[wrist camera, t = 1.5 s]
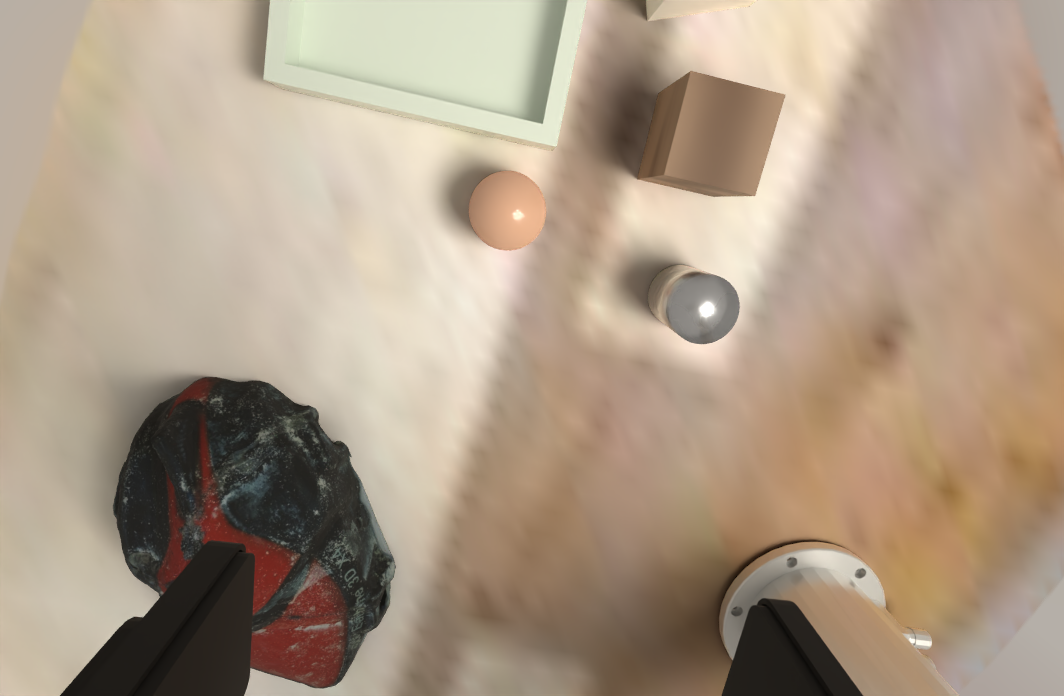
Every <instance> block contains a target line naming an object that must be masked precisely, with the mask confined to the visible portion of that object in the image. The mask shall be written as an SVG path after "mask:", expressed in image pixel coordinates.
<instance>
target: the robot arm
mask: <svg viewBox="0 0 1064 696" xmlns="http://www.w3.org/2000/svg"><path fill="white" fill-rule="evenodd" d="M254 574H255V555H254V554H253V553H246V547H245V545H244V544H243V543H234V542H224V541H215V540H210V541H208V542H207V543H206V544H205V545H204V546H203V547H202V548H201V549H200V551H199V552H198V553H197V554H196V555H195V557H194V558H193V559H192V560H191V561H190V562H189V564H188V565H187V566H186V567H185V568H184V570H183V571H182V572H181V573H180V574H179V576H178V577H177V578H176V579H175V580H174V582H173V583H172V584H171V585H170V586H169V588H168V589H167V590H166V591H165V592H164V593H163V595H162V596H161V597H160V598H159V599H158V601H157V602H156V603H155V604H154V605H153V607H152V608H151V609H150V610H149V611H148V613H147V614H146V615H145V616H144V617H143V618H142V617H133V618H131V619H129V620H127V621H126V622H125V623H124V624H123V625H122V626H121V627H120V628H119V629H118V630H117V631H116V632H115V633H114V634H113V635H112V637H111V638H110V639H109V640H108V641H107V642H106V643H105V645H104V646H103V647H102V648H101V649H100V650H99V651H98V653H97V654H96V655H95V656H94V657H93V658H92V659H91V661H90V662H89V663H88V664H87V665H86V666H85V667H84V669H83V670H82V671H81V672H80V673H79V674H78V675H77V677H76V678H75V679H74V680H73V681H72V682H71V684H70V685H69V686H68V687H67V688H66V689H65V690H64V692H63V693H62V694H61V695H60V696H244V694H245V692H246V689H247V685H248V681H249V676H250V661H251V639H252V618H253V596H254ZM885 608H886V601H885V595H884V590H883V587H882V585H881V583H880V581H879V578H878V577H877V576H876V574H875V573H874V572H873V571H872V569H871V568H870V567H869V566H868V565H867V564H866V563H865V562H864V561H863V560H862V559H861V558H860V557H859V556H857V555H855V554H854V553H852V552H851V551H849V550H847V549H845V548H842V547H840V546H837V545H834V544H829V543H823V542H801V543H795V544H790V545H786V546H783V547H780V548H777V549H775V550H772V551H770V552H768V553H766V554H765V555H763V556H761V557H759V558H757V559H756V560H755V561H754V562H752V563H751V564H750V565H748V566H747V567H746V568H745V569H744V570H743V571H742V572H741V573H740V574H739V575H738V576H737V577H736V578H735V580H734V581H733V583H732V584H731V586H730V587H729V589H728V590H727V592H726V595H725V597H724V600H723V602H722V605H721V610H720V615H719V629H720V634H721V638H722V641H723V644H724V646H725V648H726V650H727V652H728V654H729V656H730V658H731V659H732V660H733V662H732V665H731V668H730V671H729V674H728V677H727V680H726V684H725V687H724V690H723V693H722V696H960V695H959V694H958V693H957V692H956V691H955V690H954V689H953V688H952V687H951V686H950V685H949V684H948V682H947V681H946V680H945V679H944V678H943V677H942V676H941V675H940V674H939V673H938V672H937V671H936V667H935V664H934V663H933V661H932V660H931V658H929V657H928V656H926V655H922V654H921V653H920V652H919V651H918V650H917V649H924V650H927V649H929V648H930V647H931V644H932V640H931V636H930V635H929V633H928V632H927V631H926V630H924V629H919V628H912V627H902V626H901V625H900V624H899V622H898V621H897V620H896V619H895V618H894V617H893V616H892V615H891V614H890V613H889V612H888V611H887V610H886V609H885ZM916 648H917V649H916Z"/></svg>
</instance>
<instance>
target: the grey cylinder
mask: <svg viewBox="0 0 1064 696" xmlns="http://www.w3.org/2000/svg"><path fill="white" fill-rule="evenodd" d="M648 304H649V307H650V310H651V312H652V313H653V315H654V316H655V317H656V318H657V319H658V320H660V321H661V322H662V323H664V324H665V325H666V326H668V327H669V328H670V329H671V330H673V331H674V332H675V333H677V334H678V335H679V336H681V337H682V338H683V339H685V340H687V341H689V342H692V343H696V344H707V343H712V342H715V341H717V340H719V339H721V338H722V337H724V336H725V335H726V334H727V333H728V332H729V331H730V330H731V329H732V328H733V326H734V325H735V323H736V321H737V318H738V314H739V308H740V306H739V298H738V295H737V292H736V290H735V289H734V287H733V286H732V285H731V284H730V283H729V282H728V281H727V280H725V279H723V278H721V277H719V276H716V275H713V274H710V273H707V272H704V271H701V270H699V269H696V268H693V267H690V266H686V265H674V266H670V267H668V268H666V269H664V270H662V271H661V272H660V273H659V274H658V275H657V276H656V277H655V278H654V279H653V281H652V283H651V285H650V287H649V291H648Z"/></svg>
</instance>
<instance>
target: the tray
mask: <svg viewBox="0 0 1064 696" xmlns="http://www.w3.org/2000/svg"><path fill="white" fill-rule="evenodd" d="M586 3H587V0H270V6H269V18H268V30H267V42H266V54H265V66H264V78H263V79H264V80H266V81H267V82H269V83H271V84H273V85H275V86H277V87H279V88H281V89H284V90H289V91H293V92H297V93H302V94H306V95H311V96H315V97H319V98H324V99H328V100H332V101H337V102H341V103H345V104H350V105H354V106H359V107H363V108H367V109H372V110H376V111H380V112H385V113H389V114H393V115H398V116H402V117H407V118H411V119H415V120H420V121H424V122H428V123H433V124H437V125H441V126H446V127H450V128H455V129H459V130H463V131H468V132H472V133H476V134H481V135H485V136H489V137H494V138H498V139H503V140H507V141H511V142H516V143H520V144H524V145H529V146H533V147H537V148H542V149H546V150H551V151H553V150H554V149H555V148H556V147H557V142H558V137H559V132H560V128H561V123H562V118H563V113H564V108H565V104H566V99H567V94H568V89H569V85H570V80H571V75H572V70H573V66H574V61H575V56H576V51H577V46H578V42H579V37H580V32H581V27H582V23H583V18H584V13H585V8H586Z"/></svg>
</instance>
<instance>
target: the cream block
mask: <svg viewBox="0 0 1064 696" xmlns="http://www.w3.org/2000/svg"><path fill="white" fill-rule="evenodd" d="M756 1H757V0H646V10H647V21H653V20H660V19H667V18H673V17H680V16H687V15H694V14H701V13H708V12H715V11H722V10H729V9H736V8H743V7H750V6H751V5H752V4H753V3H755V2H756Z"/></svg>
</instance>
